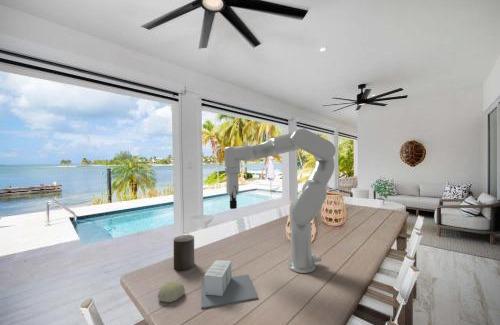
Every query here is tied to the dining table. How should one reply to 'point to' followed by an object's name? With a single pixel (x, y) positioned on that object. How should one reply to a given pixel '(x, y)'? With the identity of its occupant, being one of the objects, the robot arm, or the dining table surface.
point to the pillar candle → (183, 252)
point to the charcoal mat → (230, 293)
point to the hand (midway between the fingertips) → (233, 208)
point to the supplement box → (217, 278)
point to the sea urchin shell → (171, 291)
